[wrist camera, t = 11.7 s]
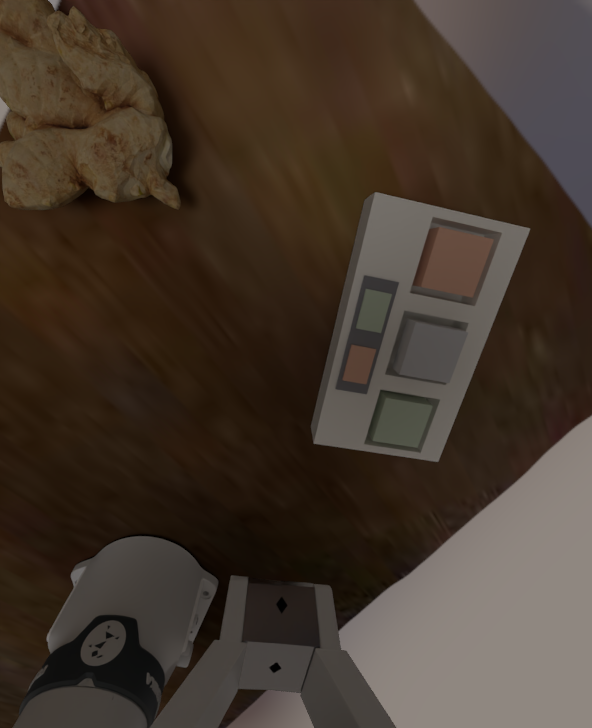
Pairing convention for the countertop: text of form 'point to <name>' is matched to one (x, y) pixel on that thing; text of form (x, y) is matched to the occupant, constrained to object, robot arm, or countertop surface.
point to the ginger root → (76, 113)
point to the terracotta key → (452, 261)
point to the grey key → (429, 350)
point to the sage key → (399, 419)
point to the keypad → (389, 315)
